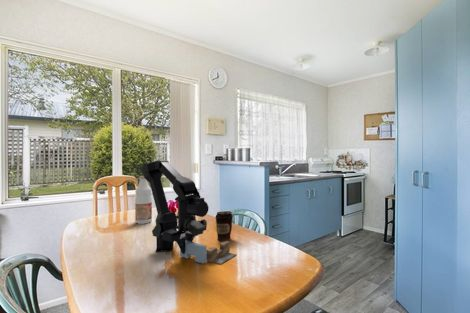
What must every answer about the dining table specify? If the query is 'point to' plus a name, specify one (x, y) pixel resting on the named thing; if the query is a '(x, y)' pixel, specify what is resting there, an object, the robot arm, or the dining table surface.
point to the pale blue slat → (195, 251)
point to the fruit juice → (143, 202)
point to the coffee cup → (224, 225)
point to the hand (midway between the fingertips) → (185, 252)
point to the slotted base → (220, 253)
